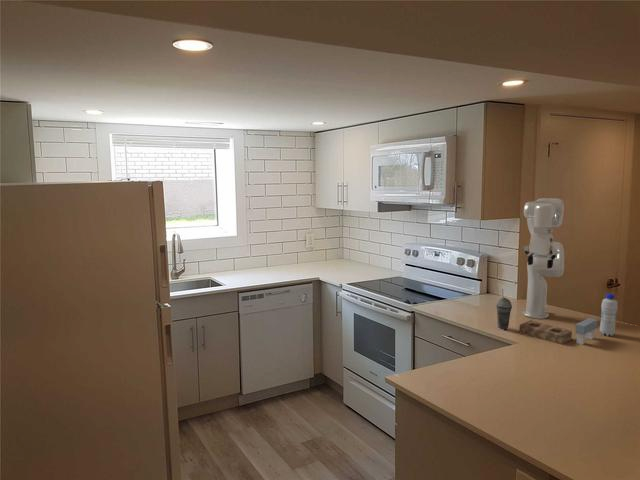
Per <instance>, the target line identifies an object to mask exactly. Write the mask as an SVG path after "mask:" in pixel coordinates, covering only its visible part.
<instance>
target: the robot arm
mask: <svg viewBox="0 0 640 480" xmlns="http://www.w3.org/2000/svg"><path fill="white" fill-rule="evenodd" d="M523 206H524V207H523V216H524V217H525V218H526V221H527V222H526V223H527V224H526V225H527V227H528V228H527V229H528V231H529V234H530V240H529V244H528V245H525V246H523V250H524V253H525V254H526V257H527V263H526V269H527V289H526V306H525V307H526V308H525V310H522V315H523V316H525V317H527V318H530V319H531V318H532V319H540V320H542V319H548V318H549V315H550V314H549V313H548V312H546V310H548V309H549V305H547V297H548V294H547V293H548V283H547V281H546V279H545V278H544V277H557V278H559V277H561V276H563V274H564V271H565V251H564V246H563V244H562V243H561V242H558V241H554V236H553V234H552V233H554V229H552V228H558V227H560V226H561V225H562V223H563V220H564V211H565V204H564V201H563V200H562V199H561V198H553V197H552V198H550V197H548V198H547V197H543V198H538V199H537V200H534V201H533V200H532V201H527V202H526V203H525V204H524V205H523Z"/></svg>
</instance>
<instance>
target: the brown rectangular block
mask: <svg viewBox="0 0 640 480" xmlns="http://www.w3.org/2000/svg"><path fill="white" fill-rule="evenodd" d="M518 331H519V332H521V333H520V334H523V333H524V334H523V335H526V334H527V336H530V337H533V338H537V339H540V340H541V339H542V340H544V341H547V342H552V343H554V344H559V345H563V344H565V343H567V342H568V341H570V340H572V336H573V331H572V330H569V329H566V328H562V327H559V326H554V325H550V324H546V323H543V322H539V321H535V320H527V321H525V322H522V323H520V324H519V329H518ZM519 332H518V333H519Z"/></svg>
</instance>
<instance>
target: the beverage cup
mask: <svg viewBox="0 0 640 480" xmlns="http://www.w3.org/2000/svg"><path fill="white" fill-rule="evenodd" d="M501 294H502V297H501V298H499V299H498V300H497V303H496V305H495V306H496V314H497V329H498V328H500V329H508V330H509V326H510V325H509V324H510V318H511V313H512V312H511V311H512V308H513V307H512V306H513V305H512V302H511V300H510V299H508V298H507V297H505V296H504V288H502V289H501ZM500 329H499V330H500Z"/></svg>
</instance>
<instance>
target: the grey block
mask: <svg viewBox="0 0 640 480" xmlns="http://www.w3.org/2000/svg"><path fill="white" fill-rule="evenodd" d="M598 322H599V321H598V319H596V318H593V317H588V318H586V319H584V320H582V321H580V322H578V323H576V324H575V334H576V344H578V345H581V346H583V345H585V343H586V339H587V340H593V339H594V340H595V332H596V329H597V328H598Z"/></svg>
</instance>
